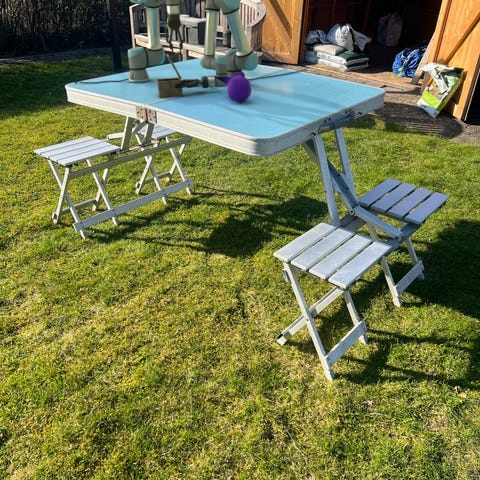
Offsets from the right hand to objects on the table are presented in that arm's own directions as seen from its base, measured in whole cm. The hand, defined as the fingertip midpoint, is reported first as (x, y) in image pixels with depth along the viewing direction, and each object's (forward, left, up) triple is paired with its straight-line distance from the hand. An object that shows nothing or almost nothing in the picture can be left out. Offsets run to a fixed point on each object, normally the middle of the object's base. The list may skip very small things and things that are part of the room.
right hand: (174, 84), depth 293 cm
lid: (0, 0, +11) cm, 11 cm away
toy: (-19, +39, -7) cm, 44 cm away
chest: (+3, -1, -7) cm, 8 cm away
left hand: (-3, +1, +18) cm, 19 cm away
